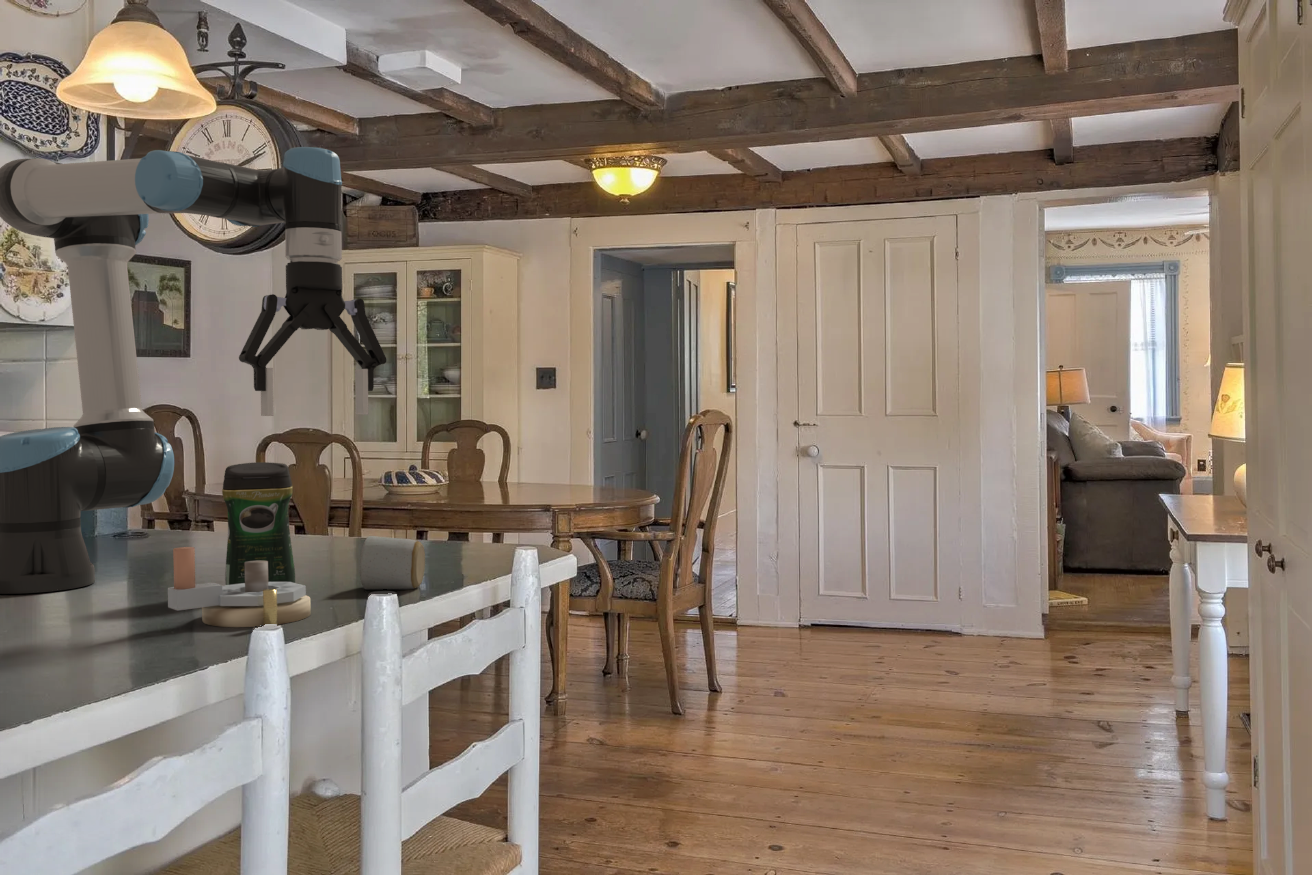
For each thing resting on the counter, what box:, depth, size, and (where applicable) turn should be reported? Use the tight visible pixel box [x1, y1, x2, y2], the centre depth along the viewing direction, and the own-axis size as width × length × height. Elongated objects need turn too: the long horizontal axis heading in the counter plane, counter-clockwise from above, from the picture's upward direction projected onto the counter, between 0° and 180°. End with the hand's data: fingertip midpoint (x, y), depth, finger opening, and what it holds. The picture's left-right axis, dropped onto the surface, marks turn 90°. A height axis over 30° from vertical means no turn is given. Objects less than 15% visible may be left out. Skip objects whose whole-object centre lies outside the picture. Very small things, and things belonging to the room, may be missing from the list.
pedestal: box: [201, 560, 312, 628], centre depth 147 cm, size 13×13×7 cm
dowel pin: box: [263, 589, 278, 625], centre depth 141 cm, size 2×2×4 cm
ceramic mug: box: [359, 535, 426, 591], centre depth 170 cm, size 11×8×8 cm
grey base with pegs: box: [167, 546, 307, 611], centre depth 145 cm, size 16×11×7 cm
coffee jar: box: [221, 461, 296, 585], centre depth 167 cm, size 10×8×19 cm
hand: (315, 415), depth 162 cm, fingers open, 13 cm apart
